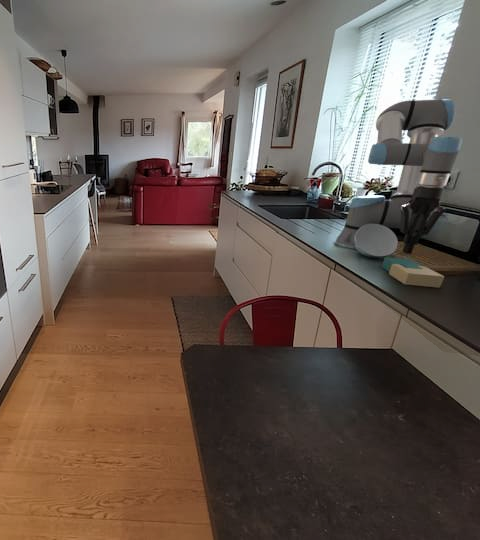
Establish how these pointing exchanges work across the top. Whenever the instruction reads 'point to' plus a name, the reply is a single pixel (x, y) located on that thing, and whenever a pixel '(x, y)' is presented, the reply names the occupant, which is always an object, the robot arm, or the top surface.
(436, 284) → the sand pad
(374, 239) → the chinaware
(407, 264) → the teal star block
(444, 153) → the robot arm
